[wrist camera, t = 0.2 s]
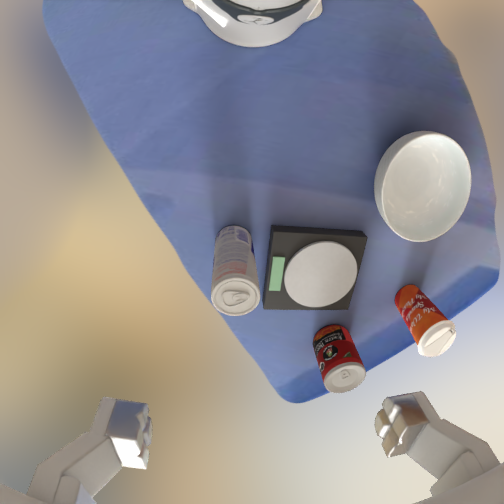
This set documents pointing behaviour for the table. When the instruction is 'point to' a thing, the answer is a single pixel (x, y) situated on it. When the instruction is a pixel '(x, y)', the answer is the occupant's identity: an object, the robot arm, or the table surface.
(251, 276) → the beverage can
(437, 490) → the robot arm
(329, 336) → the canned food
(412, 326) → the paper cup
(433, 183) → the cereal bowl
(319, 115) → the table surface
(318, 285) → the scale
